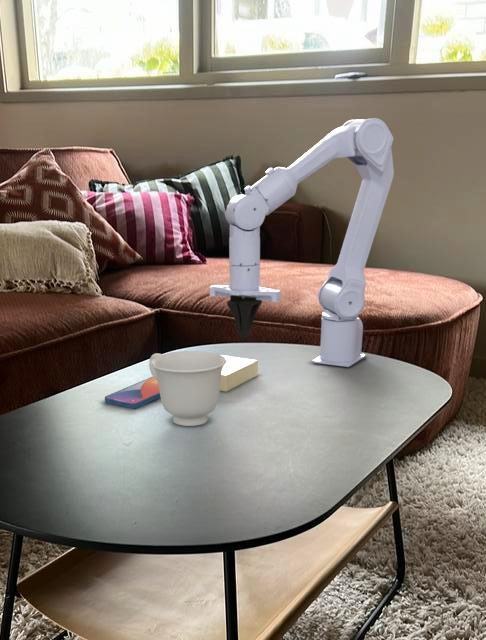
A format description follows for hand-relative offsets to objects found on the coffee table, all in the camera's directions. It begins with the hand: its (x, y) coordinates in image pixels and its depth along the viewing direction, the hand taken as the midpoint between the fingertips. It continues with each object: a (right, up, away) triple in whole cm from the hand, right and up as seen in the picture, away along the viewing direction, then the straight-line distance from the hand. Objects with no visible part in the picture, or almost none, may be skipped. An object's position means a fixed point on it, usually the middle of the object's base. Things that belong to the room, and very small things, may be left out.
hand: (244, 336), depth 149 cm
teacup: (-11, -19, -24) cm, 32 cm away
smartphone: (-18, -13, -12) cm, 26 cm away
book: (-5, -9, -4) cm, 11 cm away
